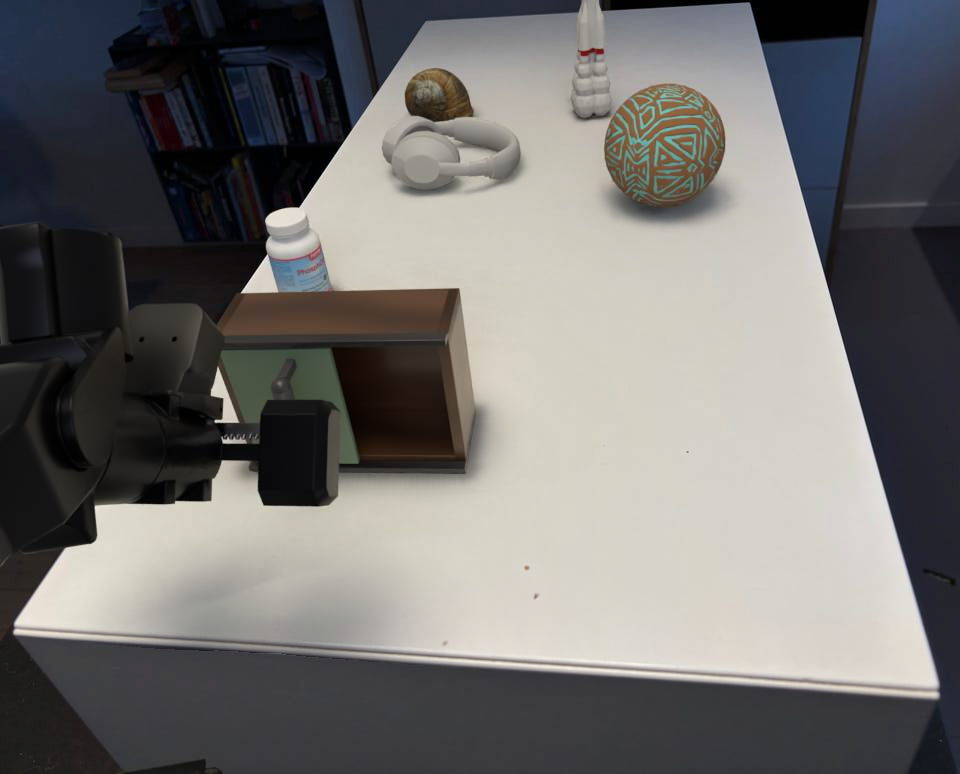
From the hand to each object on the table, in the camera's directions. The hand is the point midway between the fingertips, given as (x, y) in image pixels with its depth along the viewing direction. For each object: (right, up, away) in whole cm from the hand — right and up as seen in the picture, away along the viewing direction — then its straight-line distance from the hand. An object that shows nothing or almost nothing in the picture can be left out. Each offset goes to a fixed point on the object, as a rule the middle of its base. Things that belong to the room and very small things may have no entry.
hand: (244, 454), depth 57 cm
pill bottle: (-4, +15, +39) cm, 42 cm away
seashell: (+10, +51, +82) cm, 97 cm away
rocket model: (+35, +50, +77) cm, 98 cm away
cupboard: (+6, 0, +19) cm, 20 cm away
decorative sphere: (+41, +29, +51) cm, 71 cm away
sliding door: (+1, -3, +15) cm, 15 cm away
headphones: (+13, +37, +65) cm, 76 cm away
